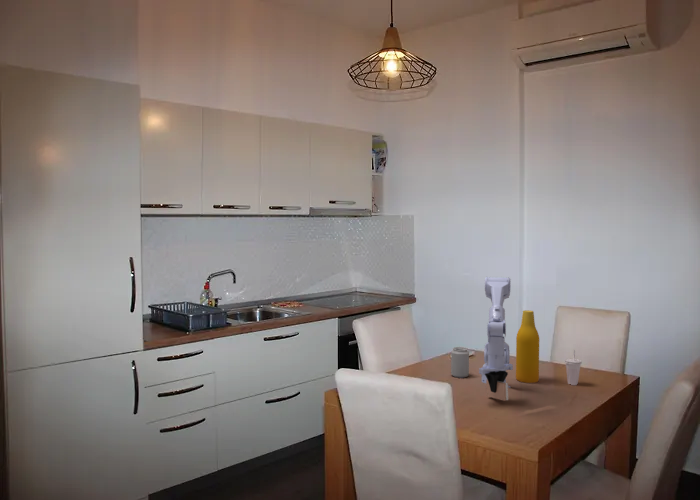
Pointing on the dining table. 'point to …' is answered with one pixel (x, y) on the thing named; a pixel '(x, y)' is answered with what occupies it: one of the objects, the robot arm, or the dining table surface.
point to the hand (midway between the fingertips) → (495, 391)
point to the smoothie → (573, 369)
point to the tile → (498, 390)
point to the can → (460, 362)
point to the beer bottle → (527, 350)
